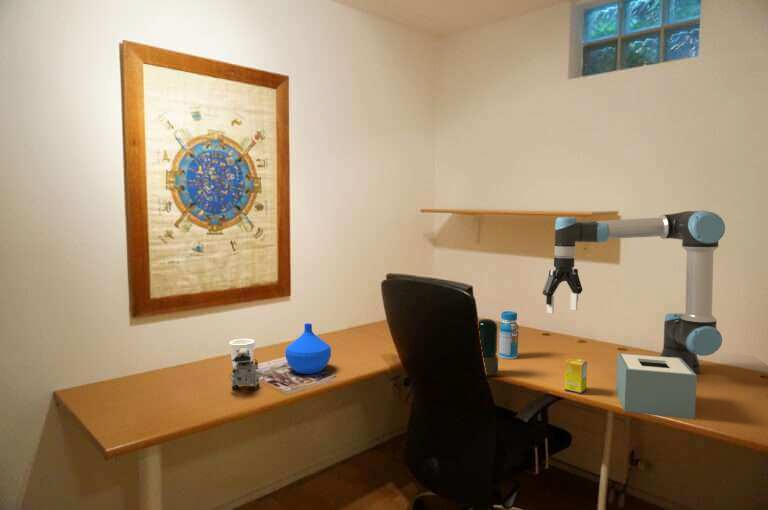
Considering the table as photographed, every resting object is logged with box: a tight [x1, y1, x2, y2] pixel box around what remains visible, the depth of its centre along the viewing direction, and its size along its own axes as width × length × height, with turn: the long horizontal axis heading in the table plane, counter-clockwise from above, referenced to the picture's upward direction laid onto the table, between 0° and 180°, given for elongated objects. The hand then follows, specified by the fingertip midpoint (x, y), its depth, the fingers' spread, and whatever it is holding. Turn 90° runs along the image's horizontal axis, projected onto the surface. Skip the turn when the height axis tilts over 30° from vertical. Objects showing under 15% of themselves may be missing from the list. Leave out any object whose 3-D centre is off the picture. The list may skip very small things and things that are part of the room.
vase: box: [284, 322, 332, 375], centre depth 206 cm, size 18×18×19 cm
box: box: [615, 352, 698, 420], centre depth 171 cm, size 20×20×14 cm
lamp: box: [477, 318, 499, 377], centre depth 203 cm, size 10×10×22 cm
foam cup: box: [228, 338, 255, 368], centre depth 202 cm, size 10×9×13 cm
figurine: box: [229, 348, 261, 391], centre depth 183 cm, size 9×12×15 cm
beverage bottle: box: [498, 310, 520, 360], centre depth 226 cm, size 8×8×20 cm
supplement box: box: [564, 357, 588, 395], centre depth 184 cm, size 6×6×11 cm
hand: (562, 311), depth 199 cm, fingers open, 13 cm apart
